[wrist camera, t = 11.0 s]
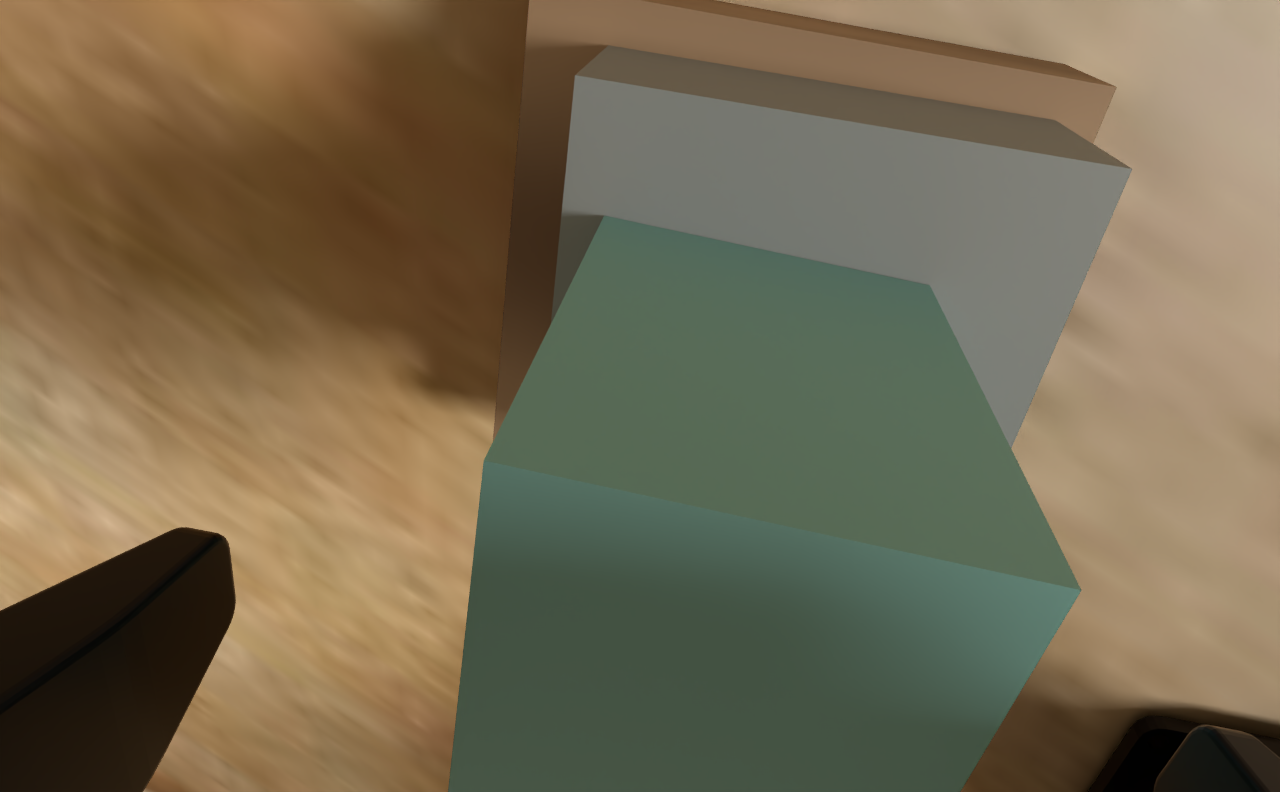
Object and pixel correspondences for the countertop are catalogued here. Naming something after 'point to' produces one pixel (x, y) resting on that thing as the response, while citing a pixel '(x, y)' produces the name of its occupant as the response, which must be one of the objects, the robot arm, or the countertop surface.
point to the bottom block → (743, 37)
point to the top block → (851, 193)
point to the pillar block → (747, 538)
